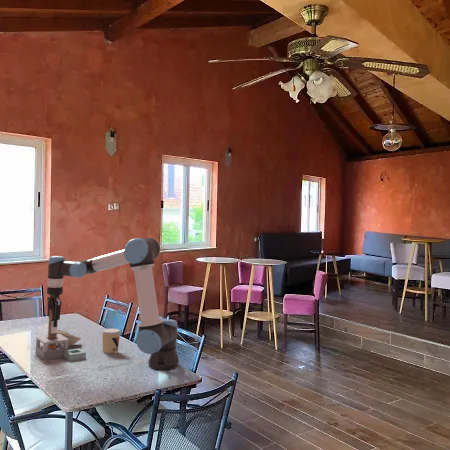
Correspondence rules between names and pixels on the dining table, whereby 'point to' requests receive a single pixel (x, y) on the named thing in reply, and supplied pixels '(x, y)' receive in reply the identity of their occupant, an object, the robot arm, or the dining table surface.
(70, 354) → the holder
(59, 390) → the dining table surface
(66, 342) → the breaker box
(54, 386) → the dining table surface
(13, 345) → the dining table surface
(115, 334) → the coffee cup
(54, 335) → the brown wooden bar
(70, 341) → the bowl
